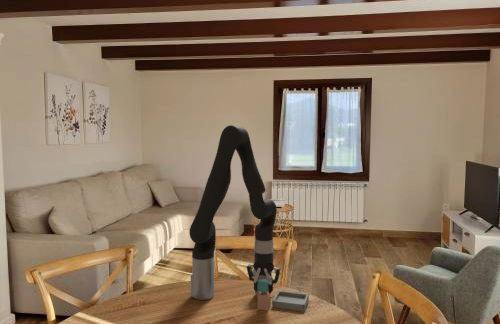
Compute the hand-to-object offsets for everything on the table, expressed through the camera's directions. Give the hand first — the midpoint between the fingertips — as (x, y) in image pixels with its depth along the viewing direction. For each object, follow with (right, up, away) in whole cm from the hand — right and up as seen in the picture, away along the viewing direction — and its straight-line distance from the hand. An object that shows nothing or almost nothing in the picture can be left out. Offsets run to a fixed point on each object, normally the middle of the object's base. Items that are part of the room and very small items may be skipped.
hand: (263, 291), depth 161 cm
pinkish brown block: (0, -7, +1) cm, 7 cm away
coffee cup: (0, -6, +13) cm, 15 cm away
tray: (+11, -6, +5) cm, 14 cm away
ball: (0, 0, 0) cm, 0 cm away
